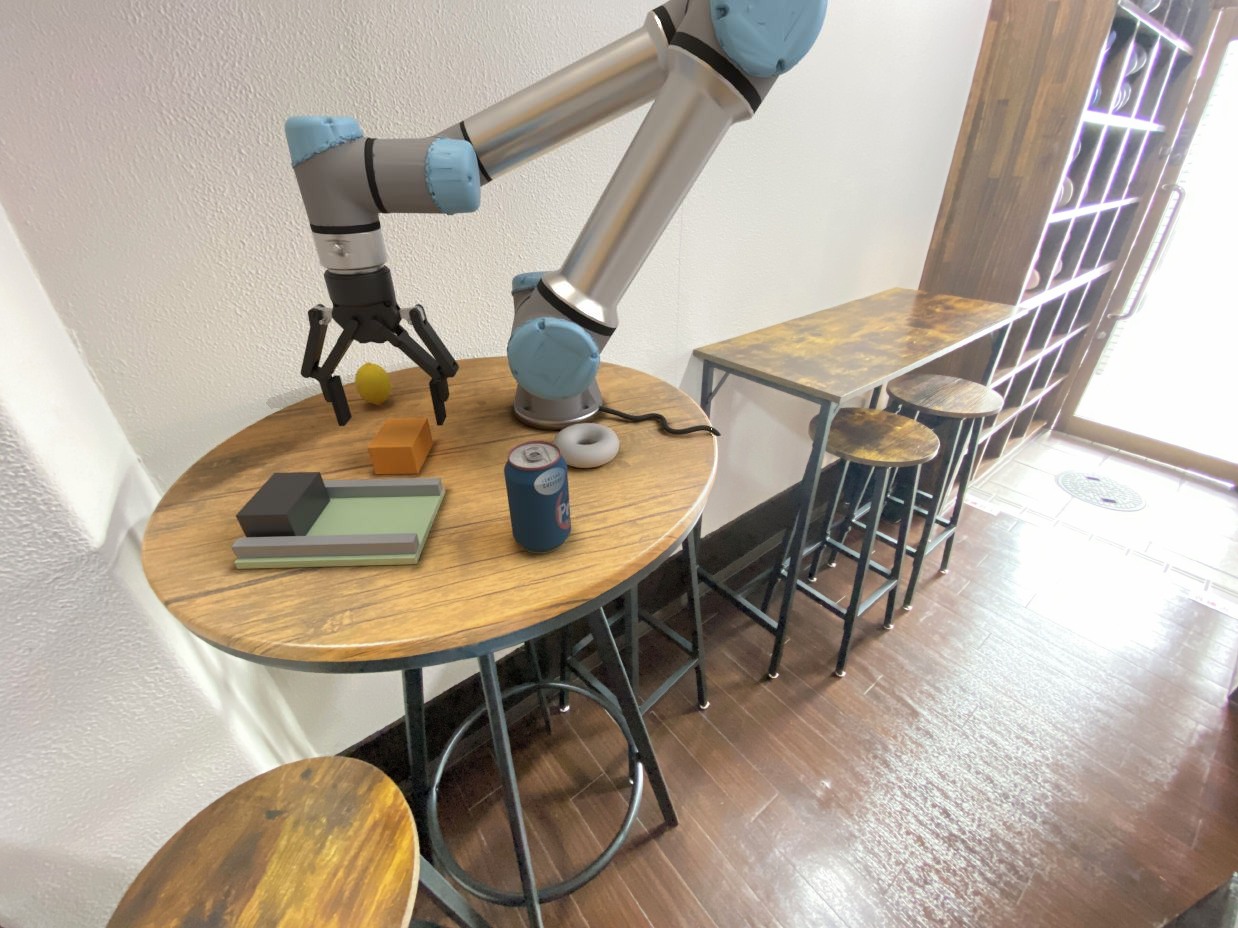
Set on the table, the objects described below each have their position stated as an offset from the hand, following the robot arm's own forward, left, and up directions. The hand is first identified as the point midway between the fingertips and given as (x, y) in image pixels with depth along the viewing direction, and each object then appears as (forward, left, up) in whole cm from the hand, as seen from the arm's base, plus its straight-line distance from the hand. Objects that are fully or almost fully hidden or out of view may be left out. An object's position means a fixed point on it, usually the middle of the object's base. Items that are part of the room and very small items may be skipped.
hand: (394, 421), depth 76 cm
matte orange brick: (0, 0, -6) cm, 6 cm away
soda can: (-22, +19, -6) cm, 30 cm away
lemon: (+10, -18, -6) cm, 21 cm away
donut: (-27, 0, -6) cm, 28 cm away
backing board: (+2, +16, -6) cm, 17 cm away
